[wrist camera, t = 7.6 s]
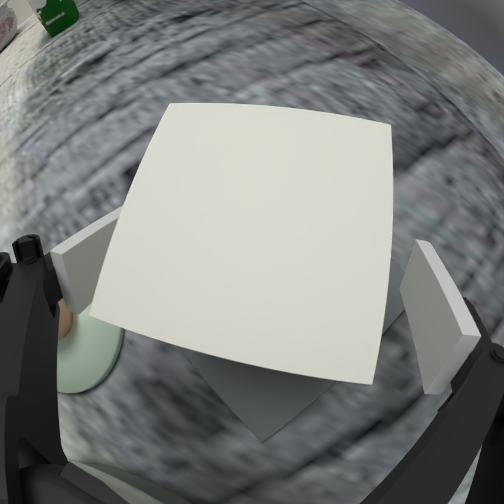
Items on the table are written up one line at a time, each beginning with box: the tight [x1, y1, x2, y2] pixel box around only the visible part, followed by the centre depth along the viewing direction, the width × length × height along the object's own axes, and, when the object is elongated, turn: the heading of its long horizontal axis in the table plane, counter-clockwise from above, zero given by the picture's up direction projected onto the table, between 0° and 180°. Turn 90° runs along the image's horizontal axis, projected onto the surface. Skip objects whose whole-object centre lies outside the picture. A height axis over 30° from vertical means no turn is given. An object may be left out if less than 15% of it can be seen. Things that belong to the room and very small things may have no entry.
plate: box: [57, 303, 124, 393], centre depth 20 cm, size 12×12×1 cm
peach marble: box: [58, 298, 73, 341], centre depth 18 cm, size 4×4×3 cm
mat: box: [178, 258, 405, 442], centre depth 19 cm, size 14×12×1 cm
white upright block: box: [89, 103, 393, 385], centre depth 13 cm, size 8×8×11 cm
